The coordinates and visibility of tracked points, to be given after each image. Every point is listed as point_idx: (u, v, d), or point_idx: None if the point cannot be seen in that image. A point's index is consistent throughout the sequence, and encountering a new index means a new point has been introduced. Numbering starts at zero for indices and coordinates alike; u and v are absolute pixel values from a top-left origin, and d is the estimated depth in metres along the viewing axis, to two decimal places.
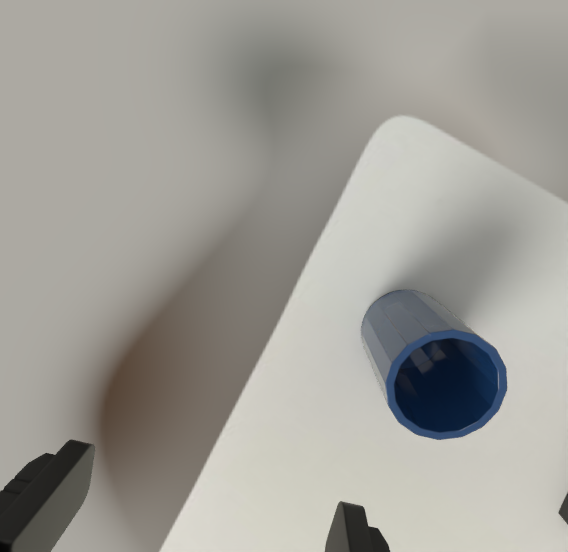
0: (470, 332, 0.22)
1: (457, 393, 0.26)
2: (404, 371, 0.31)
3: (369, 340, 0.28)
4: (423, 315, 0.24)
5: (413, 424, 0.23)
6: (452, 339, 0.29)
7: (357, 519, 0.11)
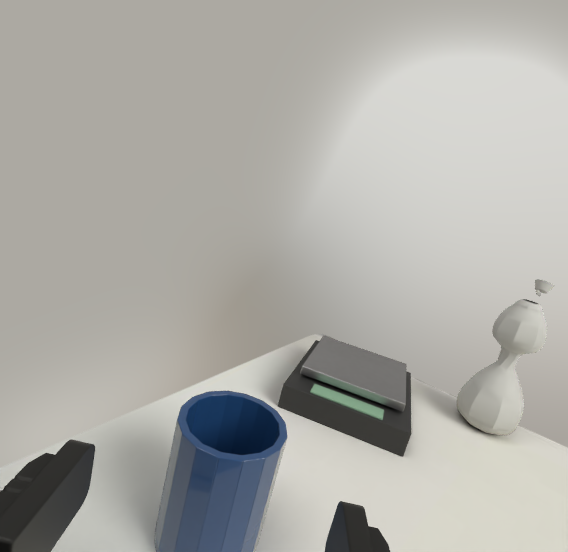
0: None
1: (260, 449, 0.27)
2: None
3: (193, 536, 0.22)
4: None
5: (268, 448, 0.23)
6: None
7: (357, 519, 0.11)
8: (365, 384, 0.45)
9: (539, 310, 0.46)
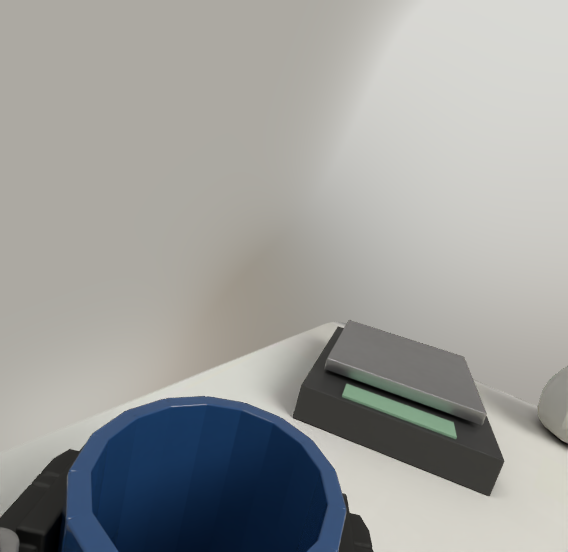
0: None
1: (276, 522, 0.13)
2: None
3: None
4: None
5: None
6: None
7: None
8: (421, 384, 0.30)
9: None
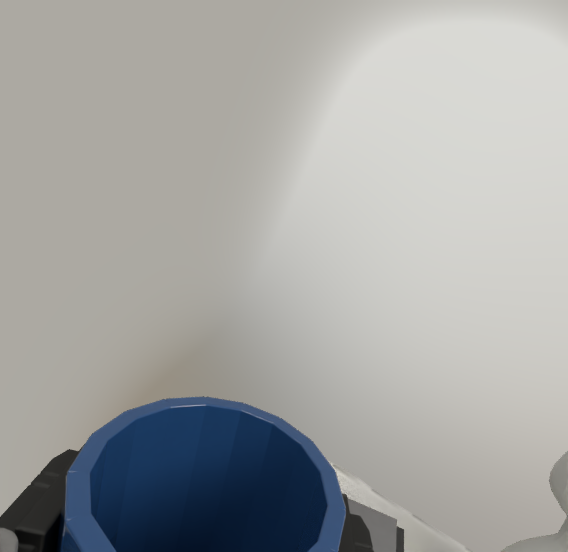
0: None
1: (276, 522, 0.13)
2: None
3: None
4: None
5: None
6: None
7: None
8: None
9: None
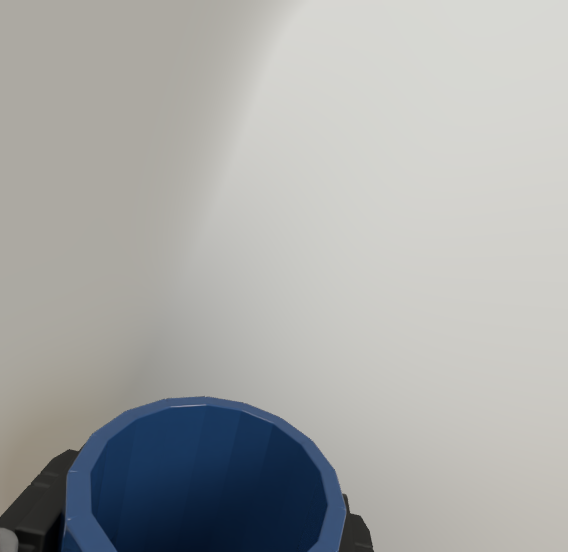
0: None
1: (276, 522, 0.13)
2: None
3: None
4: None
5: None
6: None
7: None
8: None
9: None
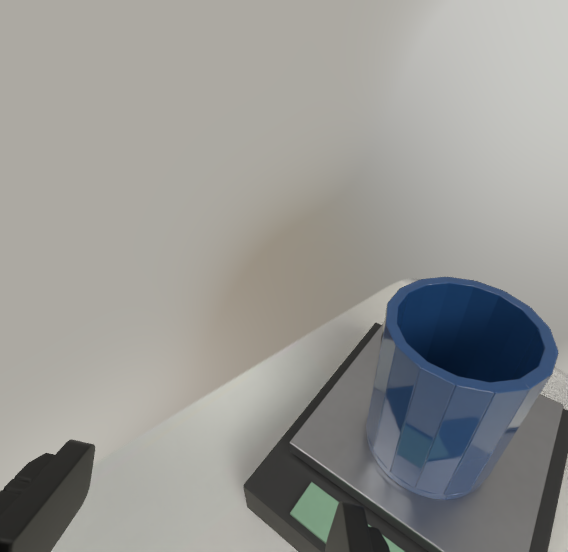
0: None
1: (499, 353, 0.19)
2: None
3: (417, 455, 0.18)
4: (378, 355, 0.19)
5: (531, 371, 0.15)
6: None
7: (357, 519, 0.11)
8: (421, 508, 0.19)
9: None
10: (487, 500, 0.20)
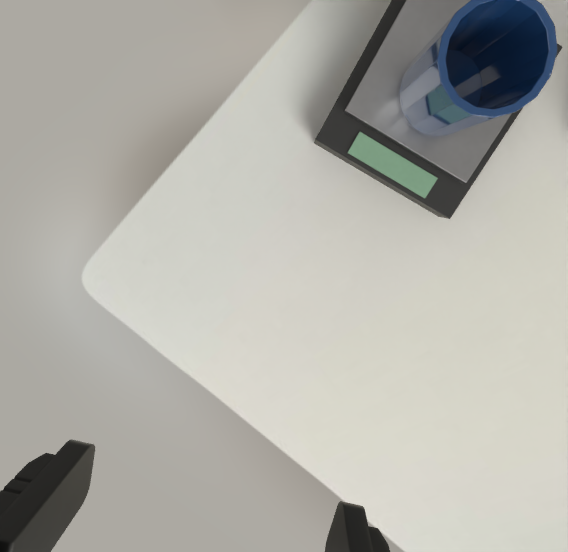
0: (451, 19, 0.23)
1: (516, 47, 0.25)
2: (482, 100, 0.31)
3: (434, 125, 0.29)
4: (423, 64, 0.26)
5: (524, 96, 0.23)
6: (464, 42, 0.29)
7: (357, 519, 0.11)
8: (428, 142, 0.33)
9: None
10: (469, 132, 0.32)
